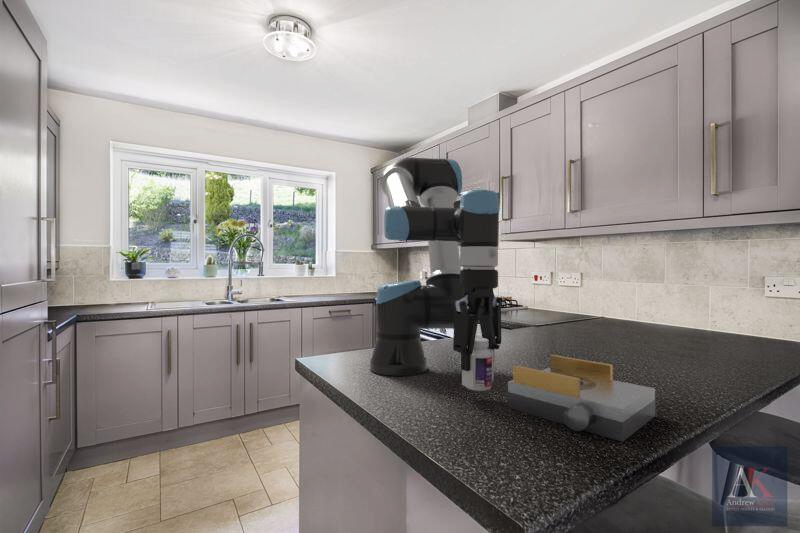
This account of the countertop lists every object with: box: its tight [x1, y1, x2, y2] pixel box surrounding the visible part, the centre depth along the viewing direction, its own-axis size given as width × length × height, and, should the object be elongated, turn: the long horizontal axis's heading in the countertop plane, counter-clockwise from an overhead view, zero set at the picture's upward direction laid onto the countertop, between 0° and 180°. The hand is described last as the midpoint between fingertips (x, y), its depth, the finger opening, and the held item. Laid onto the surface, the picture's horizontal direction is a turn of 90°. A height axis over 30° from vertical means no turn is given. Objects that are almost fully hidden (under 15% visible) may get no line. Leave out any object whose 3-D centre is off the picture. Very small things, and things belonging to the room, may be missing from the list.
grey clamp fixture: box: [507, 354, 656, 443], centre depth 71 cm, size 20×19×8 cm
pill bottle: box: [464, 337, 493, 392], centre depth 79 cm, size 5×5×10 cm
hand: (478, 382), depth 79 cm, fingers closed on pill bottle, 5 cm apart
